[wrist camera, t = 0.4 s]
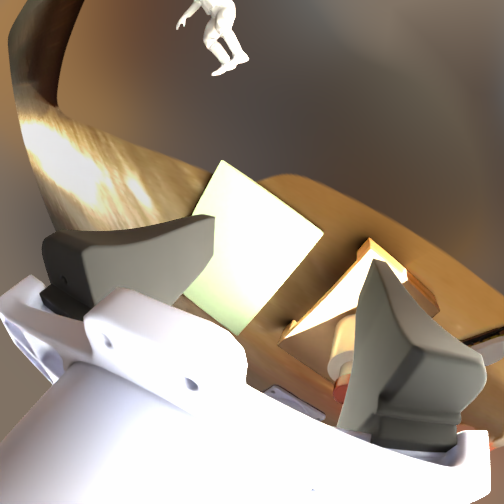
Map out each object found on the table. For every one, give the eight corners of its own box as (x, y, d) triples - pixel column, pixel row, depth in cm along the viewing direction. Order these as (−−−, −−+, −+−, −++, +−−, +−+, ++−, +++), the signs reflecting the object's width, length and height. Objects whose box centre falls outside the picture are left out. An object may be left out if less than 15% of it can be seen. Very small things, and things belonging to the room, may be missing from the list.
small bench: (344, 371, 26) (341, 389, 24) (283, 329, 27) (276, 345, 24) (434, 295, 20) (440, 311, 18) (369, 237, 21) (370, 248, 18)
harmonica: (511, 320, 18) (518, 332, 16) (508, 343, 18) (514, 355, 17) (381, 360, 24) (382, 374, 22) (385, 380, 25) (385, 394, 23)
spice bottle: (356, 355, 22) (349, 417, 16) (325, 333, 22) (310, 394, 16) (386, 330, 20) (389, 394, 14) (355, 305, 20) (349, 367, 15)
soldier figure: (200, 86, 21) (145, -9, 15) (244, 67, 22) (191, -23, 16) (236, 62, 15) (163, -57, 9) (292, 44, 16) (222, -67, 10)
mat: (238, 333, 29) (237, 336, 28) (164, 275, 29) (161, 276, 29) (324, 232, 22) (323, 234, 21) (223, 159, 22) (221, 160, 22)
